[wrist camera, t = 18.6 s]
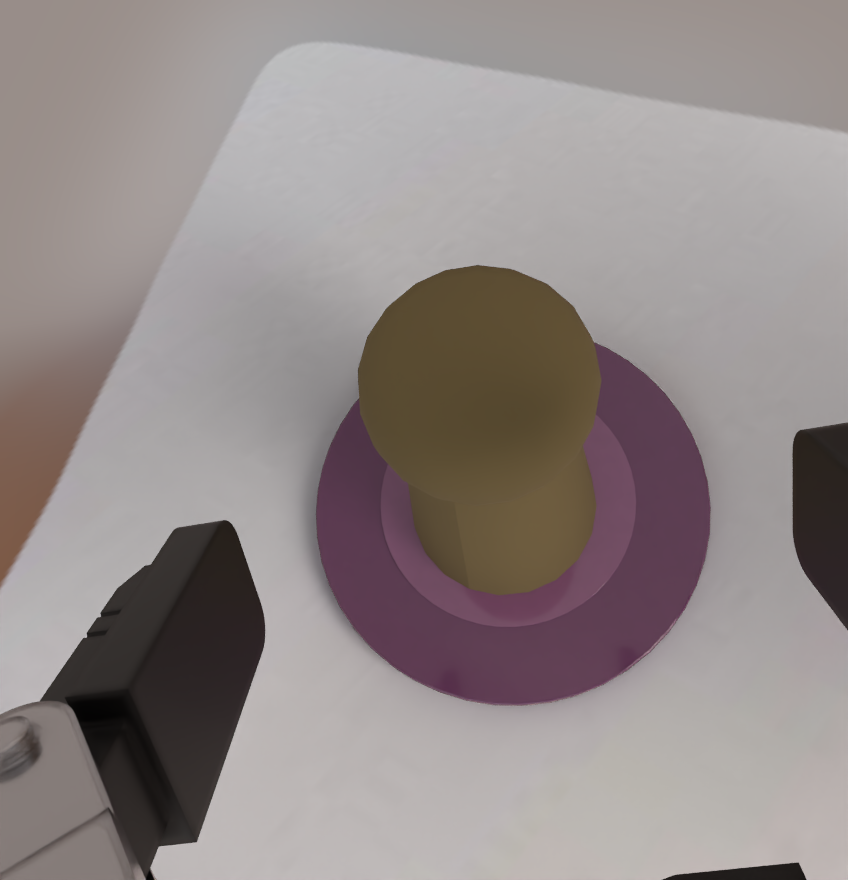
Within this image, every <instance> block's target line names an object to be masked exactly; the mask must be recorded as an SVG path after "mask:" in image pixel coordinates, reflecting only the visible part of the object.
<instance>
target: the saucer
mask: <svg viewBox="0 0 848 880" xmlns="http://www.w3.org/2000/svg"><path fill="white" fill-rule="evenodd" d="M594 344H595V348H596V353H597V359H598V364H599V369H600V375H601V380H602V381H601V387H600V392H599V398H598V404H597V410H596V415H595V421H594V426H593V428H592V430H591V432H590V434H589V435H588V437H587V439H586V441H585V443H584V444H583V448H584V451H585V455H586V459H587V462H588V466H589V469H590V473H591V477H592V482H593V487H594V493H595V499H596V505H597V507H596V513H595V519H594V525H593V531H592V535H591V537H590V539H589V540H588V542H587V544H586V546H585V548H584V550H583V551H582V553H581V555H580V557H579V559H578V560H577V561H576V562H575V563H574V564H573V565H572V566H571V567H570V568H568V569H567V570H566V571H565V572H564V573H563V574H562V575H561V576H560V577H559V578H558V579H557V580H555V581H552V582H550V583H548V584H546V585H544V586H541V587H539V588H537V589H535V590H532V591H530V592H525V593H516V594H506V595H495V594H490V593H486V592H481V591H476V590H471V589H469V588H467V587H465V586H463V585H462V584H460V583H458V582H457V581H455V580H453V579H451V578H450V577H448V576H446V575H444V573H443V572H442V571H441V570H440V569H439V568H438V567H437V566H436V564H435V563H434V562H433V561H432V560H431V559H430V558H429V557H428V555H427V554H426V553H425V551H424V548H423V546H422V544H421V541H420V539H419V537H418V534H417V532H416V530H415V527H414V520H413V513H412V507H411V500H410V493H409V487H408V483H407V482H405V481H403V480H402V479H401V478H400V476H399V475H398V474H397V473H396V472H395V471H394V470H393V469H392V468H391V467H390V466H389V464H388V463H387V462H386V461H385V460H384V459H383V458H382V457H381V456H380V455H379V453H378V452H377V450H376V449H375V447H374V446H373V443H372V441H371V439H370V436H369V434H368V432H367V429H366V427H365V424H364V422H363V420H362V417H361V415H360V404H359V399H358V400H357V401H356V402H355V404H354V405H353V406H352V408H351V409H350V411H349V412H348V414H347V415H346V417H345V418H344V420H343V421H342V423H341V425H340V427H339V429H338V431H337V433H336V435H335V437H334V439H333V441H332V443H331V445H330V448H329V451H328V453H327V456H326V459H325V462H324V465H323V468H322V473H321V478H320V482H319V487H318V495H317V507H316V524H317V539H318V545H319V550H320V555H321V561H322V564H323V567H324V570H325V573H326V576H327V580H328V583H329V586H330V588H331V590H332V592H333V594H334V596H335V598H336V600H337V602H338V604H339V606H340V608H341V610H342V611H343V613H344V614H345V616H346V617H347V619H348V620H349V622H350V623H351V625H352V626H353V628H354V629H355V630H356V631H357V632H358V634H359V635H360V636H361V637H362V638H363V639H364V640H365V641H366V643H367V644H368V645H369V646H370V647H371V648H372V649H373V650H374V651H375V652H376V653H377V654H379V655H380V656H381V657H382V658H383V659H384V660H386V661H387V662H388V663H389V664H390V665H391V666H393V667H394V668H396V669H397V670H399V671H401V672H402V673H404V674H405V675H407V676H408V677H410V678H411V679H413V680H415V681H417V682H419V683H421V684H423V685H425V686H427V687H430V688H432V689H434V690H436V691H438V692H441V693H444V694H447V695H450V696H454V697H457V698H460V699H463V700H467V701H471V702H477V703H484V704H490V705H500V706H527V705H536V704H545V703H552V702H555V701H559V700H563V699H567V698H571V697H575V696H578V695H580V694H583V693H585V692H588V691H590V690H592V689H595V688H597V687H600V686H602V685H604V684H606V683H607V682H609V681H611V680H612V679H614V678H616V677H617V676H619V675H621V674H622V673H624V672H626V671H627V670H629V669H630V668H631V667H632V666H634V665H635V664H636V663H637V662H639V661H640V660H641V659H642V658H644V657H645V656H646V655H647V654H648V653H650V652H651V651H652V650H653V649H654V648H655V646H656V645H657V644H658V643H659V642H660V641H661V640H662V639H663V638H664V637H665V636H666V635H667V634H668V633H669V631H670V630H671V628H672V627H673V626H674V624H675V623H676V621H677V620H678V618H679V617H680V615H681V614H682V613H683V611H684V610H685V608H686V606H687V604H688V602H689V600H690V598H691V596H692V594H693V592H694V590H695V588H696V586H697V583H698V580H699V577H700V574H701V571H702V568H703V565H704V562H705V558H706V552H707V547H708V541H709V535H710V511H711V507H710V498H709V489H708V481H707V477H706V473H705V469H704V465H703V462H702V458H701V455H700V453H699V450H698V448H697V445H696V443H695V440H694V438H693V436H692V433H691V432H690V430H689V428H688V426H687V425H686V423H685V421H684V420H683V418H682V416H681V414H680V413H679V411H678V410H677V409H676V407H675V406H674V405H673V403H672V402H671V401H670V400H669V398H668V397H667V396H666V394H665V393H664V392H663V391H662V390H661V389H660V388H659V387H658V386H657V385H656V384H655V383H654V382H653V381H652V380H651V379H650V378H649V377H648V376H647V375H646V374H644V373H643V372H642V371H641V370H639V369H638V368H637V367H635V366H634V365H633V364H632V363H630V362H629V361H628V360H626V359H624V358H623V357H621V356H619V355H618V354H616V353H614V352H613V351H611V350H609V349H608V348H606V347H603V346H601V345H599V344H597V343H594Z"/></svg>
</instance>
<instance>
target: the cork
mask: <svg viewBox="0 0 848 880" xmlns="http://www.w3.org/2000/svg"><path fill="white" fill-rule="evenodd" d="M601 381H602V380H601V375H600V369H599V364H598V359H597V353H596V348H595V344H594V342H593V340H592V338H591V336H590V334H589V332H588V330H587V329H586V327H585V325H584V324H583V322H582V320H581V319H580V317H579V315H578V313H577V312H576V310H575V308H574V307H573V306H572V305H571V304H570V303H569V302H568V301H567V300H565V299H564V298H563V297H562V296H561V295H559V294H558V293H557V292H556V291H555V290H554V289H552V288H551V287H550V286H549V285H548V284H546V283H544V282H541V281H539V280H536V279H534V278H532V277H529V276H527V275H525V274H522V273H520V272H517V271H515V270H512V269H506V268H497V267H488V266H479V265H476V266H470V267H464V268H457V269H451V270H445V271H443V272H441V273H438V274H436V275H434V276H432V277H430V278H427V279H425V280H423V281H421V282H418V283H416V284H415V285H414V286H412V287H411V288H410V289H409V290H408V291H406V292H405V293H404V294H403V295H402V296H400V297H399V298H398V299H397V300H396V301H394V302H393V303H392V304H391V305H390V306H389V307H388V308H386V310H385V311H384V313H383V314H382V316H381V317H380V319H379V320H378V322H377V323H376V325H375V326H374V328H373V329H372V331H371V332H370V334H369V335H368V337H367V340H366V343H365V347H364V350H363V354H362V357H361V361H360V364H359V368H358V385H359V404H360V415H361V417H362V420H363V422H364V424H365V427H366V429H367V432H368V434H369V436H370V439H371V441H372V443H373V446H374V447H375V449H376V450H377V452H378V453H379V455H380V456H381V457H382V458H383V459H384V460H385V461H386V462H387V463H388V464H389V466H390V467H391V468H392V469H393V470H394V471H395V472H396V473H397V474H398V475H399V476H400V478H401V479H402V480H403V481H405V482H407V483H408V487H409V493H410V500H411V507H412V513H413V520H414V527H415V530H416V532H417V534H418V537H419V539H420V541H421V544H422V546H423V548H424V551H425V553H426V554H427V555H428V557H429V558H430V559H431V560H432V561H433V562H434V563H435V564H436V566H437V567H438V568H439V569H440V570H441V571H442V572H443V573H444V575H446V576H448V577H450V578H451V579H453V580H455V581H457V582H458V583H460V584H462V585H463V586H465V587H467V588H469V589H471V590H476V591H481V592H486V593H490V594H495V595H506V594H516V593H525V592H530V591H532V590H535V589H537V588H539V587H541V586H544V585H546V584H548V583H550V582H552V581H555V580H557V579H558V578H559V577H560V576H561V575H562V574H563V573H564V572H565V571H566V570H567V569H568V568H570V567H571V566H572V565H573V564H574V563H575V562H576V561H577V560H578V559H579V557H580V555H581V553H582V551H583V550H584V548H585V546H586V544H587V542H588V540H589V539H590V537H591V535H592V531H593V525H594V519H595V513H596V507H597V505H596V499H595V493H594V487H593V482H592V477H591V473H590V469H589V466H588V462H587V459H586V455H585V451H584V448H583V444H584V443H585V441H586V439H587V437H588V435H589V434H590V432H591V430H592V428H593V426H594V421H595V415H596V410H597V404H598V398H599V392H600V387H601Z"/></svg>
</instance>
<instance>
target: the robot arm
mask: <svg viewBox="0 0 848 880" xmlns="http://www.w3.org/2000/svg"><path fill="white" fill-rule="evenodd" d="M793 538H794V544H795V549H796V552H797V556H798V559H799V562H800V564H801V566H802V569H803V570H804V572H805V574H806V575H807V577H808V578H809V580H810V581H811V582H812V584H813V585H814V586H815V588H816V589H817V590H818V592H819V593H820V594H821V596H822V597H823V598H824V599H825V601H826V602H827V603H828V605H829V606H830V607H831V609H832V610H833V611H834V613H835V614H836V615H837V617H838V618H839V619H840V621H841V622H842V623H843V625H844V626H845V627H846V629H847V630H848V423H842V424H836V425H830V426H823V427H817V428H811V429H804V430H800V431H798V432H797V434H796V436H795V438H794V442H793ZM264 642H265V621H264V614H263V610H262V606H261V603H260V600H259V597H258V594H257V591H256V588H255V585H254V582H253V579H252V576H251V573H250V570H249V567H248V564H247V561H246V558H245V555H244V552H243V550H242V547H241V544H240V541H239V538H238V535H237V532H236V530H235V528H234V527H233V525H232V524H231V523H230V522H229V521H226V520H223V521H217V522H211V523H204V524H198V525H192V526H185V527H179V528H176V529H175V530H174V531H173V532H172V533H171V535H170V536H169V538H168V539H167V541H166V542H165V544H164V545H163V547H162V548H161V550H160V552H159V553H158V555H157V556H156V558H155V559H154V561H153V562H152V564H151V565H147V566H144V567H143V568H142V569H141V570H139V571H138V572H137V573H136V574H134V575H133V576H132V577H131V578H130V579H128V580H127V581H126V582H125V583H124V584H122V585H121V586H120V587H119V588H117V590H116V591H115V593H114V594H113V596H112V597H111V598H110V600H109V601H108V603H107V604H106V606H105V607H104V609H103V610H102V612H101V617H98V618H97V619H96V620H95V622H94V623H93V625H92V626H91V628H90V629H89V630H88V632H87V638H83V639H82V641H81V642H80V643H79V645H78V646H77V648H76V649H75V651H74V652H73V654H72V655H71V657H70V658H69V659H68V661H67V662H66V664H65V665H64V667H63V668H62V670H61V671H60V672H59V674H58V675H57V677H56V678H55V680H54V681H53V683H52V684H51V686H50V687H49V688H48V690H47V691H46V693H45V694H44V696H43V697H42V699H41V700H40V702H34V703H30V704H26V705H22V706H20V707H17V708H14V709H11V710H9V711H7V712H5V713H3V714H1V715H0V880H156V878H155V876H154V874H153V872H152V870H151V868H150V867H151V865H152V862H153V859H154V857H155V854H156V852H157V849H158V847H159V846H166V845H175V844H184V843H193V842H197V840H198V837H199V834H200V831H201V828H202V825H203V822H204V820H205V817H206V814H207V811H208V808H209V805H210V802H211V799H212V796H213V793H214V791H215V788H216V785H217V782H218V779H219V776H220V773H221V770H222V767H223V764H224V761H225V759H226V756H227V753H228V750H229V747H230V744H231V741H232V738H233V735H234V732H235V730H236V727H237V724H238V721H239V718H240V715H241V712H242V709H243V706H244V703H245V701H246V698H247V695H248V692H249V689H250V686H251V683H252V680H253V677H254V674H255V672H256V669H257V666H258V663H259V660H260V657H261V654H262V651H263V648H264ZM663 880H806V878H805V875H804V873H803V871H802V869H801V867H800V864H799V863H789V864H779V865H769V866H759V867H749V868H739V869H729V870H719V871H709V872H699V873H689V874H679V875H674V876H671V877H668V878H666V879H663Z"/></svg>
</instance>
